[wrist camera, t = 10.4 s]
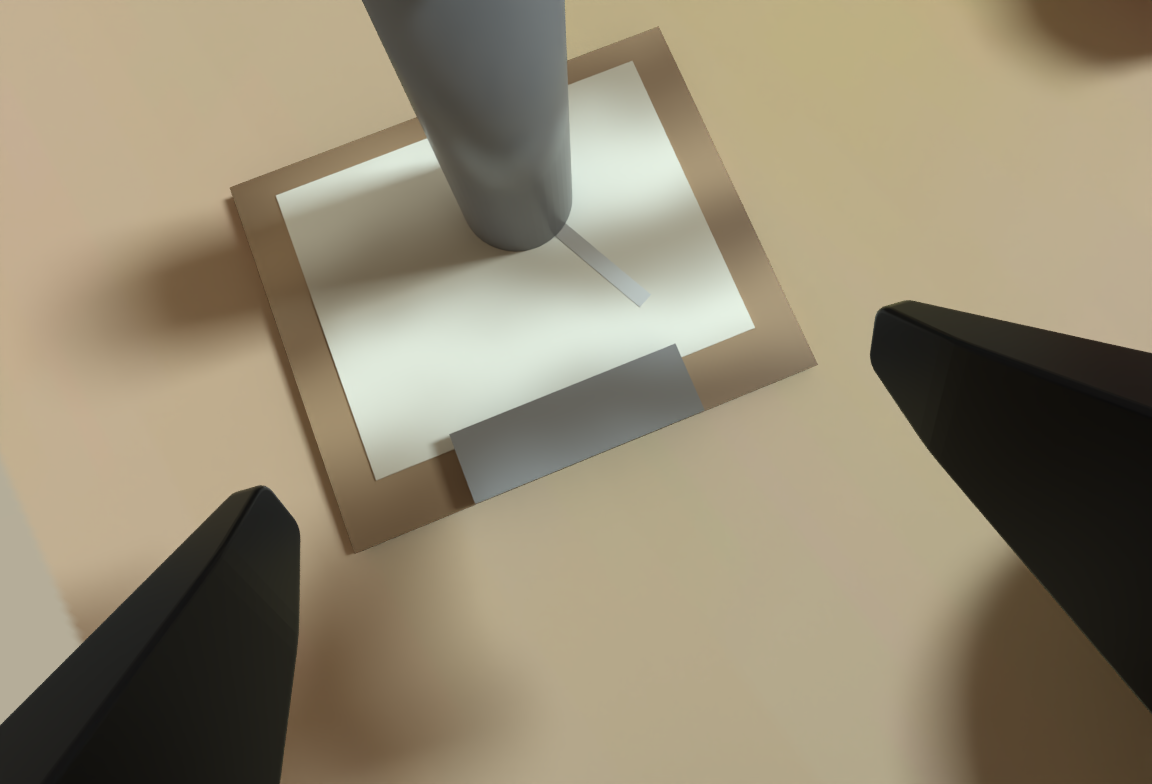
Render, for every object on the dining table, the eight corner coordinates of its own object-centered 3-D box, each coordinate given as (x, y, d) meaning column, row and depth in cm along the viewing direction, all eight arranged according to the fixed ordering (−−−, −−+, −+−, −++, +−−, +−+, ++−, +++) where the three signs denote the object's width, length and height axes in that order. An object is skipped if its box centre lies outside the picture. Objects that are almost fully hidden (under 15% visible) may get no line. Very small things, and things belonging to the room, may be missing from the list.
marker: (599, 195, 21) (626, -263, 8) (517, 277, 20) (403, -60, 7) (515, 122, 21) (408, -432, 8) (434, 200, 21) (186, -247, 8)
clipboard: (810, 367, 20) (830, 359, 19) (361, 550, 20) (342, 557, 18) (656, 38, 22) (662, 5, 21) (239, 195, 21) (212, 173, 20)
